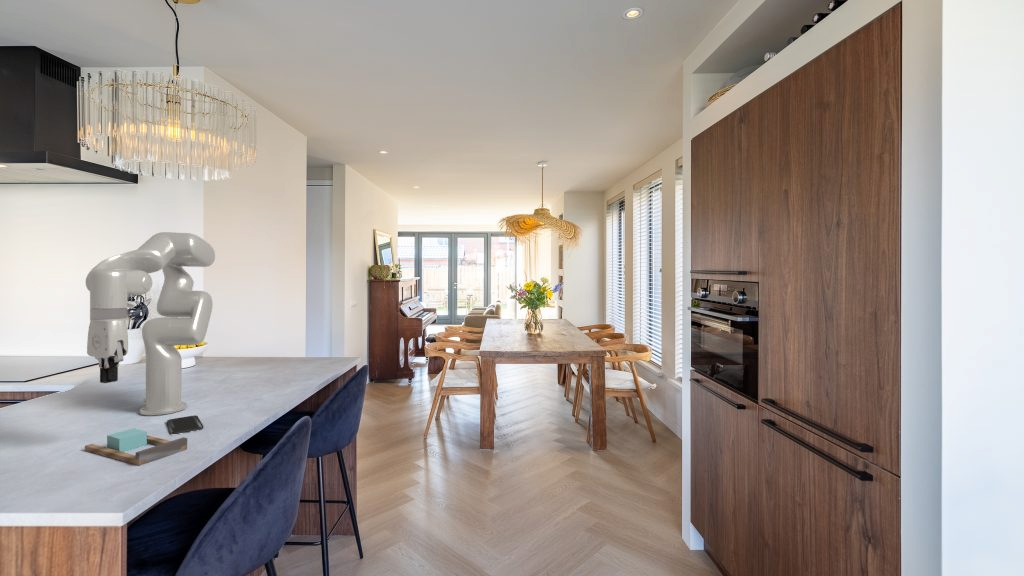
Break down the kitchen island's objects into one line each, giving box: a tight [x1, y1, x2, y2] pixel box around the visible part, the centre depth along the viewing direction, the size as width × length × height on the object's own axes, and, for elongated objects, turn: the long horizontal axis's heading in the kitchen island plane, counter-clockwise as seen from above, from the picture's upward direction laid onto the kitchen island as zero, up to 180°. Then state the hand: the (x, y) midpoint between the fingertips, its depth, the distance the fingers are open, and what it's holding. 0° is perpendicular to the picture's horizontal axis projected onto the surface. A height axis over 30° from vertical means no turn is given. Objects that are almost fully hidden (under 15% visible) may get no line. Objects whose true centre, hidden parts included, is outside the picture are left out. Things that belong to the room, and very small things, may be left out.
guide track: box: [84, 434, 188, 467], centre depth 115 cm, size 23×11×3 cm, turn 69°
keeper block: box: [106, 427, 148, 453], centre depth 117 cm, size 6×6×4 cm
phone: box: [166, 414, 204, 435], centre depth 134 cm, size 8×1×15 cm
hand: (108, 381), depth 119 cm, fingers closed
